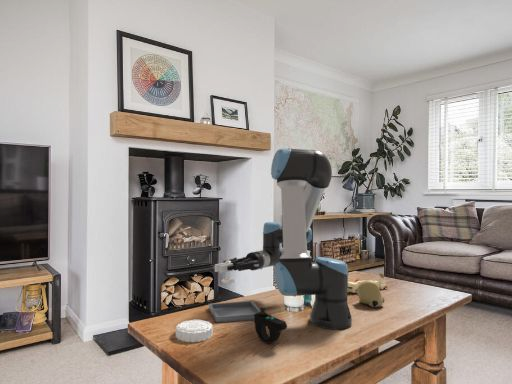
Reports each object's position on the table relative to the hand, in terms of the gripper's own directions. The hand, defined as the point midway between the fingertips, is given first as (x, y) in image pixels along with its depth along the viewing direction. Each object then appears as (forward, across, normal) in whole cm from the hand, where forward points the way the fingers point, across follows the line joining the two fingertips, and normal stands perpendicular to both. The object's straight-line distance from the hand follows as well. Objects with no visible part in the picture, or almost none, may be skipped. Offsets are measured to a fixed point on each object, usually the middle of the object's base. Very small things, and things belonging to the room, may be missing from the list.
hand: (217, 268), depth 138 cm
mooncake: (+17, -7, -18) cm, 26 cm away
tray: (-7, -3, -18) cm, 20 cm away
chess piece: (-6, 0, -6) cm, 8 cm away
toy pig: (-55, -37, -18) cm, 69 cm away
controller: (+6, -29, -18) cm, 35 cm away
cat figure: (-76, -26, -19) cm, 82 cm away
